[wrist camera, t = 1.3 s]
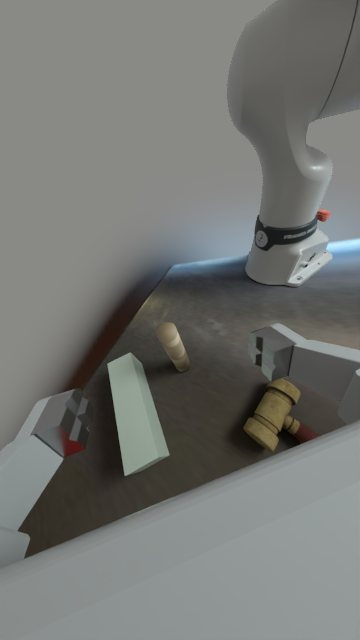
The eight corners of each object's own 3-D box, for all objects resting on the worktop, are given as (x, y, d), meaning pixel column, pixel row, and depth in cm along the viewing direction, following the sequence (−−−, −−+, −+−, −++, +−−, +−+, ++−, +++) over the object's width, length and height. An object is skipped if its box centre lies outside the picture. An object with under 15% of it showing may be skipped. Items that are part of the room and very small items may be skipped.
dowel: (186, 355, 38) (171, 319, 27) (192, 368, 36) (179, 333, 25) (173, 362, 37) (153, 328, 26) (179, 375, 35) (159, 343, 24)
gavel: (472, 494, 18) (467, 613, 15) (427, 483, 22) (415, 576, 18) (275, 373, 28) (245, 427, 24) (268, 380, 31) (240, 428, 28)
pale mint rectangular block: (141, 363, 39) (130, 352, 34) (169, 455, 28) (158, 457, 23) (121, 373, 38) (107, 363, 34) (141, 470, 27) (124, 476, 22)
